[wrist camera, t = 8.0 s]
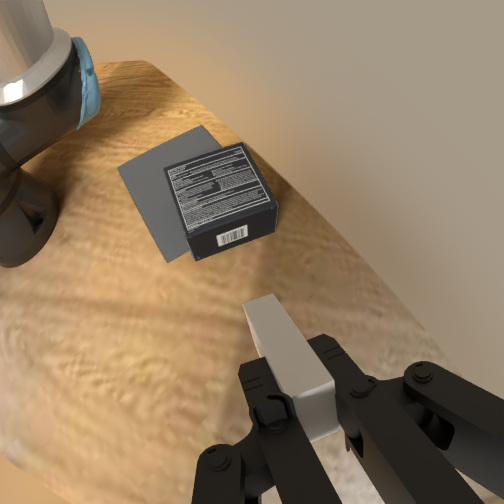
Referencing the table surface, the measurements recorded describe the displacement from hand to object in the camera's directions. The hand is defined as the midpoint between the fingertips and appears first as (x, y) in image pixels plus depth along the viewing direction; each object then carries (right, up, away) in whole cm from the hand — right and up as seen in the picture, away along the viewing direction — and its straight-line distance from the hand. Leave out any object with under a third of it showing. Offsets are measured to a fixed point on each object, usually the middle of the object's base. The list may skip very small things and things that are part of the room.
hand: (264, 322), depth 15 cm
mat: (-10, +13, +28) cm, 32 cm away
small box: (-2, +5, +20) cm, 21 cm away
